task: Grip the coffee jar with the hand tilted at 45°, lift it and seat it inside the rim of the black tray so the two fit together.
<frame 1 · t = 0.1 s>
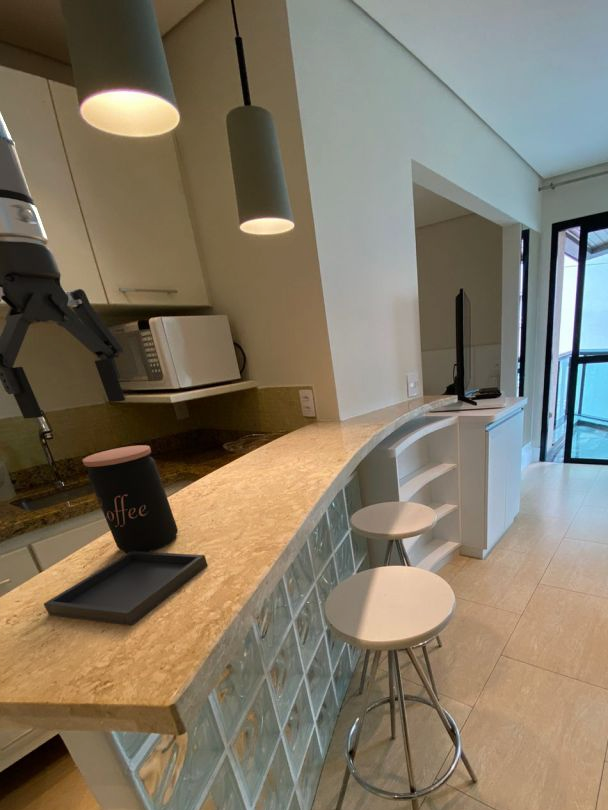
hand: (79, 408, 62), 27 cm above the counter, tool pointing down, fingers open, 13 cm apart
black tray: (134, 588, 64), on the counter
coffee jar: (150, 543, 80), on the counter
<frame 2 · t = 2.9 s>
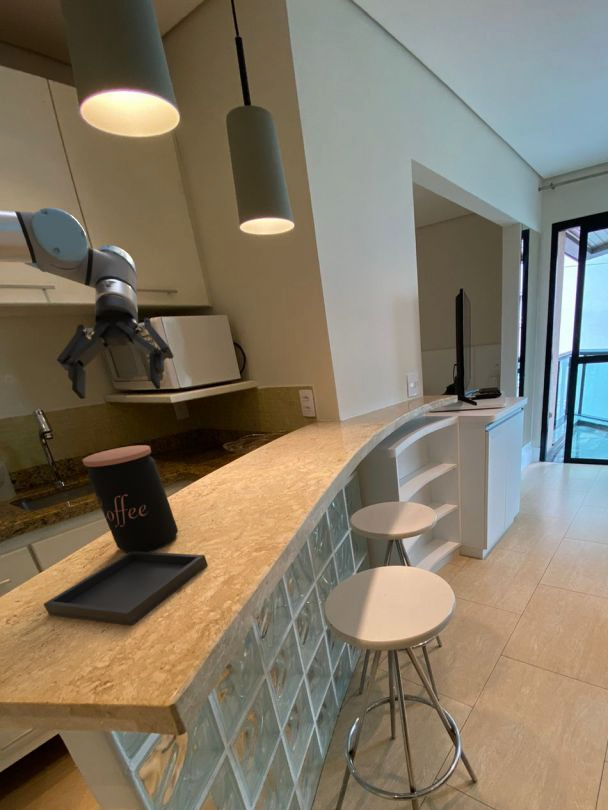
hand: (117, 389, 78), 28 cm above the counter, tool tilted 45°, fingers open, 13 cm apart
nothing on the counter moved.
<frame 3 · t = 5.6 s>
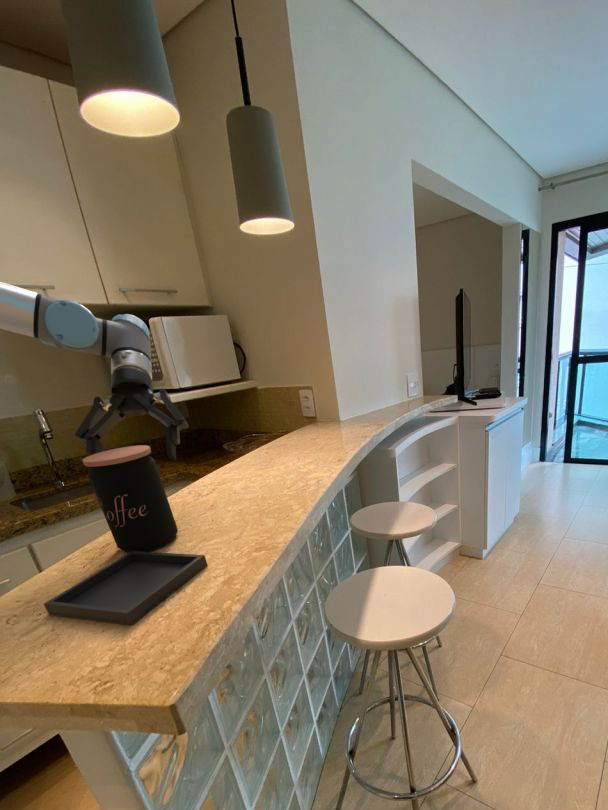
hand: (135, 463, 79), 14 cm above the counter, tool tilted 45°, fingers open, 13 cm apart
nothing on the counter moved.
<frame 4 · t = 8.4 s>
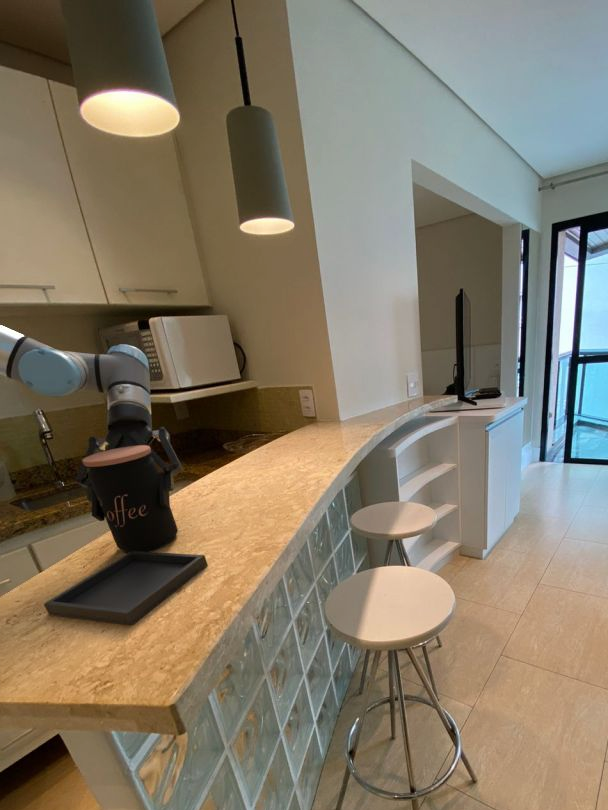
hand: (132, 512, 74), 8 cm above the counter, tool tilted 45°, fingers closed on coffee jar, 10 cm apart
coffee jar: (150, 543, 80), on the counter, touching gripper
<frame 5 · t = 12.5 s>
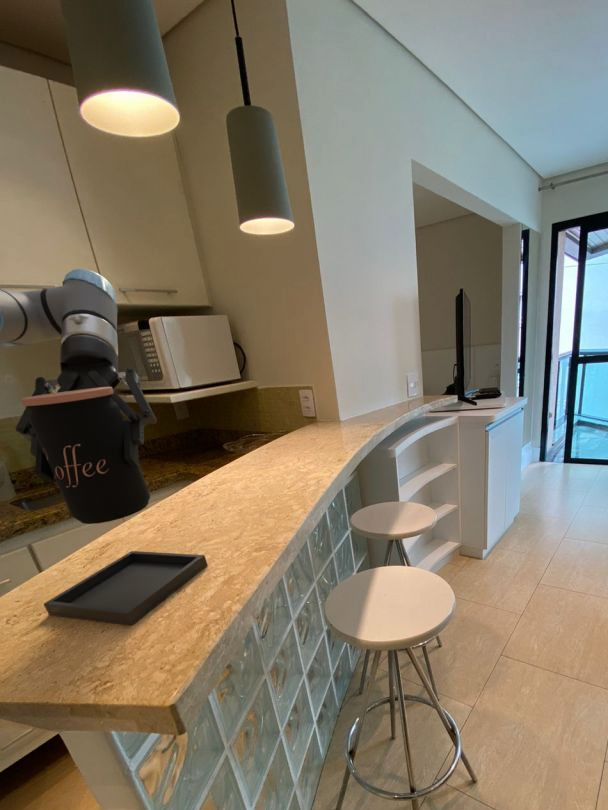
hand: (88, 469, 58), 19 cm above the counter, tool tilted 45°, fingers closed on coffee jar, 10 cm apart
coffee jar: (115, 512, 64), point 11 cm above the counter, touching gripper
when the fingers open (8 cm above the counter, at t = 16.7 s): coffee jar stays where it is, resting on black tray.
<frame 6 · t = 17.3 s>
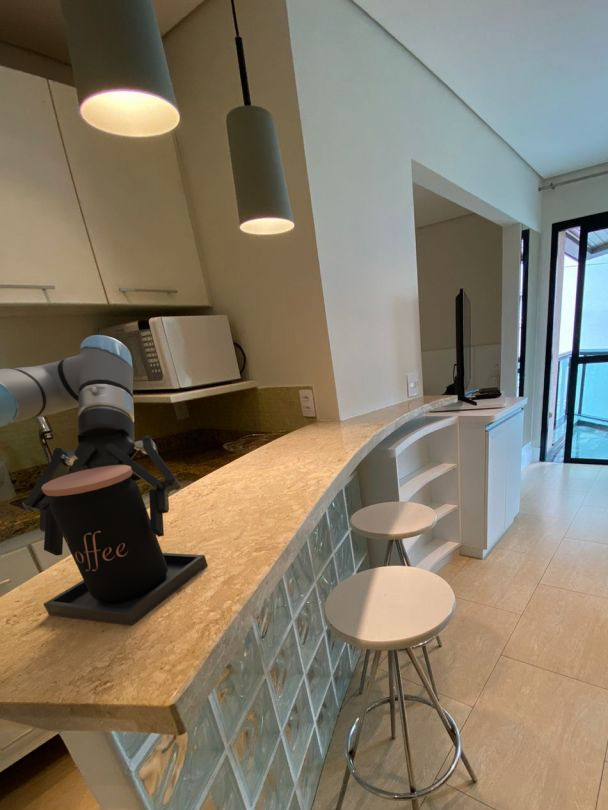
hand: (106, 542, 58), 9 cm above the counter, tool tilted 45°, fingers open, 13 cm apart
coffee jar: (133, 586, 64), resting on black tray
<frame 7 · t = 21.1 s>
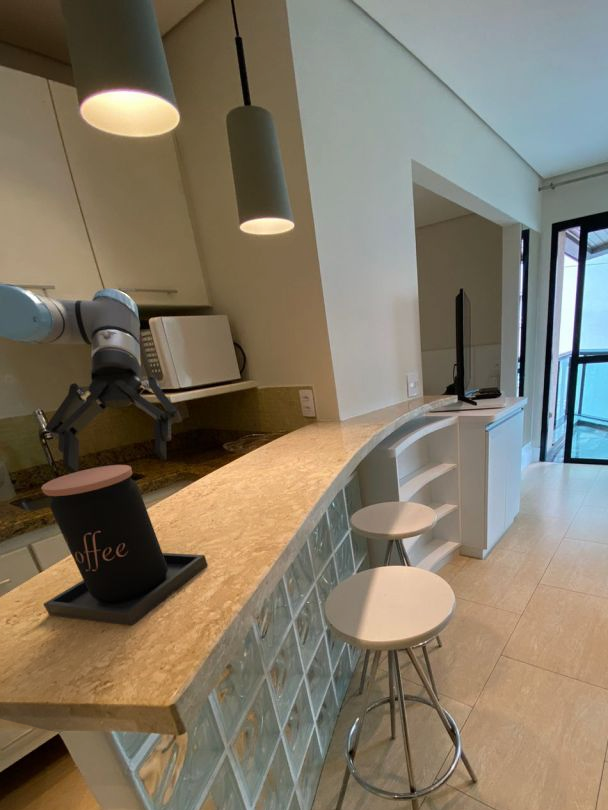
hand: (116, 463, 66), 18 cm above the counter, tool tilted 45°, fingers open, 13 cm apart
nothing on the counter moved.
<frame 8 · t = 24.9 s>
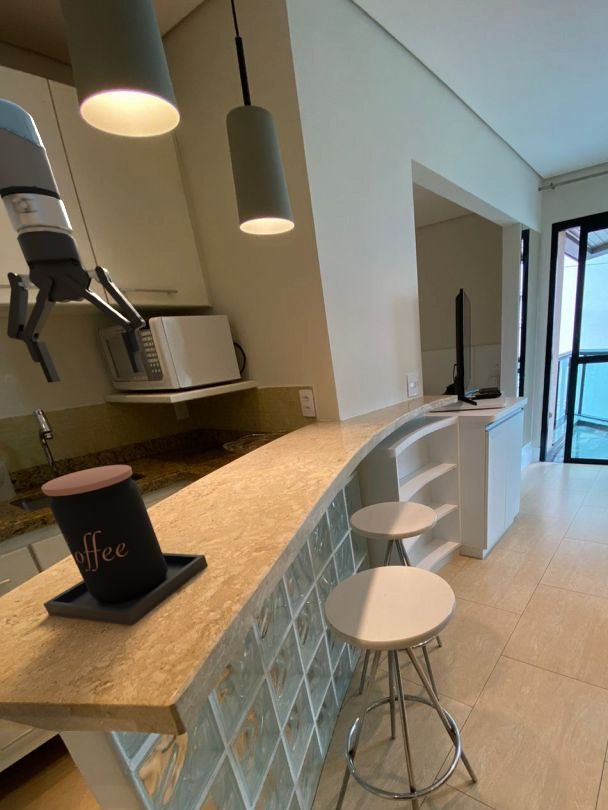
hand: (97, 377, 72), 31 cm above the counter, tool pointing down, fingers open, 13 cm apart
nothing on the counter moved.
at the end: coffee jar 0.0 cm off-centre in the black tray, point 0.3 cm above the black tray's base; coffee jar tilted 0°; the gripper is holding nothing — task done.
